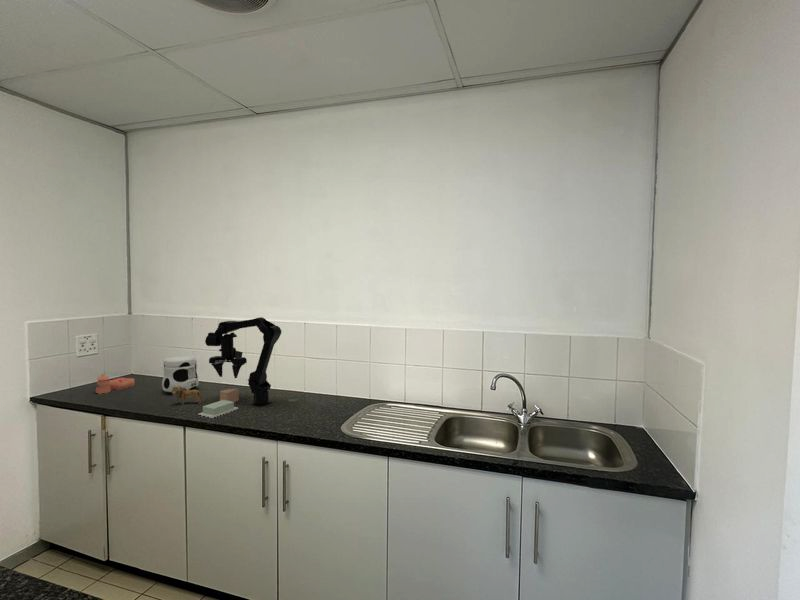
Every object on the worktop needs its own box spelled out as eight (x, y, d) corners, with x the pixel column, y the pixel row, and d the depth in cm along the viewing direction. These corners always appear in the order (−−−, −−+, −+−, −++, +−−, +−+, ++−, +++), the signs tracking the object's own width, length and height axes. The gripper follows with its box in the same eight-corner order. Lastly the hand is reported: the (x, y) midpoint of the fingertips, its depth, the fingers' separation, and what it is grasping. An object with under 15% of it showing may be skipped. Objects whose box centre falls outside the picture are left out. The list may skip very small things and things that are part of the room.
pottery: (120, 384, 224) (120, 367, 223) (134, 385, 222) (134, 368, 222) (90, 393, 206) (89, 375, 206) (104, 395, 204) (104, 376, 204)
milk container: (164, 388, 217) (163, 356, 216) (199, 385, 224) (198, 354, 223) (160, 397, 201) (159, 362, 200) (198, 393, 208) (197, 359, 207)
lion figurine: (170, 406, 187) (170, 387, 186) (173, 403, 192) (173, 385, 191) (204, 403, 191) (204, 385, 191) (206, 400, 196) (206, 382, 196)
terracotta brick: (238, 401, 196) (238, 389, 196) (227, 404, 190) (227, 392, 190) (231, 399, 198) (231, 387, 198) (219, 403, 192) (219, 391, 192)
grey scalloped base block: (238, 409, 183) (238, 401, 183) (212, 418, 171) (212, 410, 171) (224, 406, 187) (224, 398, 187) (198, 415, 175) (198, 407, 174)
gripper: (253, 344, 199) (254, 374, 200) (224, 343, 205) (225, 372, 206) (238, 348, 188) (239, 380, 189) (207, 346, 194) (208, 377, 195)
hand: (228, 377), depth 195 cm, fingers open, 9 cm apart
